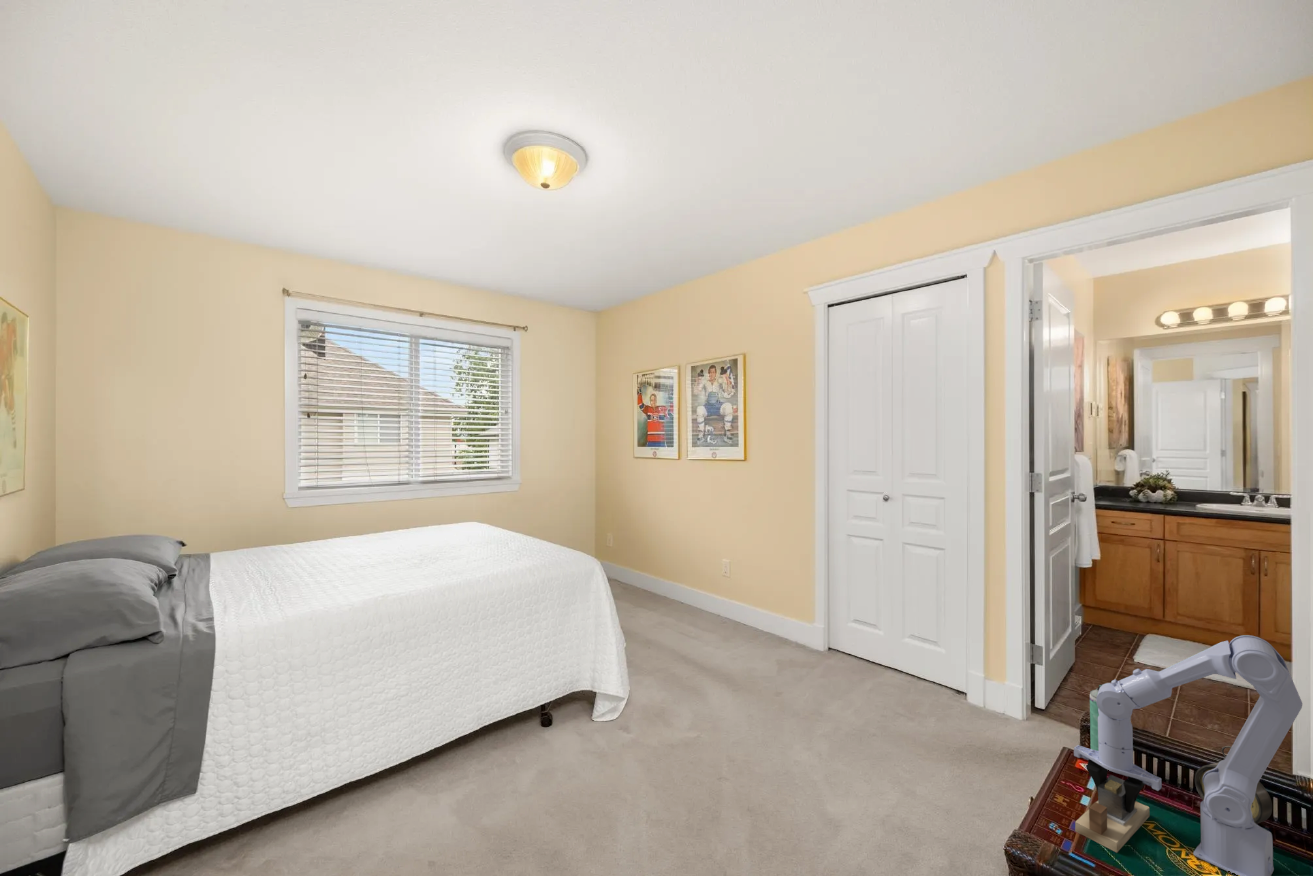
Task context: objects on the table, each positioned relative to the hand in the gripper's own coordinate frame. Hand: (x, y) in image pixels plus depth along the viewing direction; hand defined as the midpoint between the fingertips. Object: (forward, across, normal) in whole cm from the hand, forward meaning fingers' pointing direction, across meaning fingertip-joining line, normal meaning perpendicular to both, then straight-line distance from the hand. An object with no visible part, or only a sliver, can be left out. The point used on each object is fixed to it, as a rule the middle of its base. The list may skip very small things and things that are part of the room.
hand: (1116, 804), depth 117 cm
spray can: (+4, +9, -21) cm, 23 cm away
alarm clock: (+4, -14, -19) cm, 24 cm away
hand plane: (+3, 0, +2) cm, 4 cm away
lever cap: (+1, 0, 0) cm, 1 cm away
